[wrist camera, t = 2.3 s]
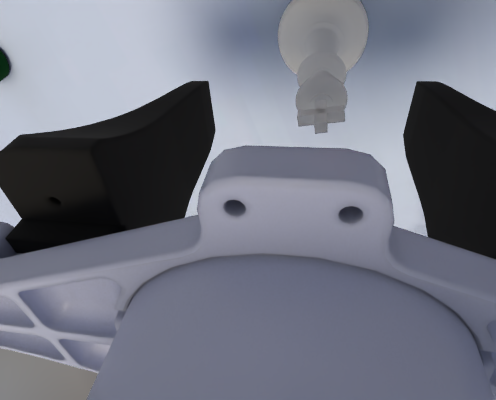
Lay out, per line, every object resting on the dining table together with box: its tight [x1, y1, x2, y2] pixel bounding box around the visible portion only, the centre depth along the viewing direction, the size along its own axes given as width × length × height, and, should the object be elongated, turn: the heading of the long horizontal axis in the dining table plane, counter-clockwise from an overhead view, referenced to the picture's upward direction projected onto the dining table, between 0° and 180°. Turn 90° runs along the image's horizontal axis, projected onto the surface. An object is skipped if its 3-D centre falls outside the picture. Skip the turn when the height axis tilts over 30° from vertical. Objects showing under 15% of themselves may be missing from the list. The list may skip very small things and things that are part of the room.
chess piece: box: [278, 0, 369, 134], centre depth 16 cm, size 5×5×10 cm
